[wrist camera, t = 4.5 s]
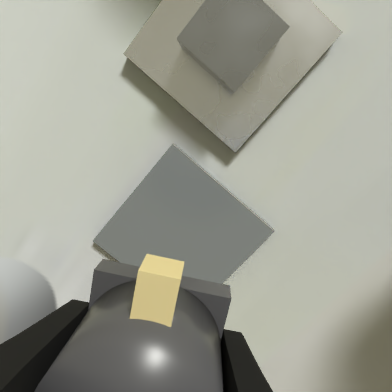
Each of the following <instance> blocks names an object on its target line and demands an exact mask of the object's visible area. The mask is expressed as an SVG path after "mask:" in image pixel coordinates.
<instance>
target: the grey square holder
mask: <svg viewBox="0 0 392 392" xmlns="http://www.w3.org/2000/svg"><path fill="white" fill-rule="evenodd" d="M342 33H343V32H342V31H341V30H340V29H339V28H338V27H337V26H336V25H335V24H334V23H333V22H332V21H331V20H330V19H329V18H328V17H327V16H326V15H325V14H324V13H323V12H322V11H321V10H320V9H319V8H318V7H317V6H316V5H315V4H314V3H313V2H312V1H311V0H162V1H161V2H160V4H159V5H158V6H157V8H156V9H155V11H154V12H153V13H152V15H151V16H150V18H149V19H148V20H147V22H146V23H145V25H144V26H143V27H142V29H141V30H140V32H139V33H138V34H137V36H136V37H135V38H134V40H133V41H132V43H131V44H130V45H129V47H128V48H127V50H126V51H125V52H124V55H125V56H126V57H127V58H128V59H130V60H131V61H132V62H133V63H134V64H135V65H136V66H138V67H139V68H140V69H141V70H142V71H143V72H144V73H145V74H147V75H148V76H149V77H150V78H151V79H152V80H153V81H155V82H156V83H157V84H158V85H159V86H160V87H161V88H163V89H164V90H165V91H166V92H167V93H168V94H169V95H170V96H172V97H173V98H174V99H175V100H176V101H177V102H178V103H180V104H181V105H182V106H183V107H184V108H185V109H186V110H187V111H189V112H190V113H191V114H192V115H193V116H194V117H195V118H197V119H198V120H199V121H200V122H201V123H202V124H203V125H205V126H206V127H207V128H208V129H209V130H210V131H211V132H212V133H214V134H215V135H216V136H217V137H218V138H219V139H220V140H222V141H223V142H224V143H225V144H226V145H227V146H228V147H229V148H231V149H232V150H233V151H234V152H235V153H236V151H237V150H238V149H239V148H240V147H241V146H242V145H243V144H244V142H245V141H246V140H247V139H248V138H249V137H250V136H251V135H252V134H253V132H254V131H255V130H256V129H257V128H258V127H259V126H260V125H261V123H262V122H263V121H264V120H265V119H266V118H267V117H268V116H269V114H270V113H271V112H272V111H273V110H274V109H275V108H276V107H277V105H278V104H279V103H280V102H281V101H282V100H283V99H284V98H285V96H286V95H287V94H288V93H289V92H290V91H291V90H292V89H293V88H294V86H295V85H296V84H297V83H298V82H299V81H300V80H301V79H302V77H303V76H304V75H305V74H306V73H307V72H308V71H309V70H310V68H311V67H312V66H313V65H314V64H315V63H316V62H317V61H318V59H319V58H320V57H321V56H322V55H323V54H324V53H325V52H326V50H327V49H328V48H329V47H330V46H331V45H332V44H333V43H334V42H335V40H336V39H337V38H338V37H339V36H340V35H341V34H342Z"/></svg>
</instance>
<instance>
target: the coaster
mask: <svg viewBox="0 0 392 392" xmlns="http://www.w3.org/2000/svg"><path fill="white" fill-rule="evenodd" d="M273 232H274V230H273V228H271V227H270V226H269V225H268V224H267V223H266V222H264V221H263V220H262V219H261V218H260V217H259V216H257V215H256V214H255V213H254V212H253V211H252V210H251V209H249V208H248V207H247V206H246V205H245V204H244V203H242V202H241V201H240V200H239V199H238V198H237V197H235V196H234V195H233V194H232V193H231V192H230V191H228V190H227V189H226V188H225V187H224V186H223V185H221V184H220V183H219V182H218V181H217V180H216V179H214V178H213V177H212V176H211V175H210V174H209V173H207V172H206V171H205V170H204V169H203V168H202V167H200V166H199V165H198V164H197V163H196V162H195V161H193V160H192V159H191V158H190V157H189V156H188V155H186V154H185V153H184V152H183V151H182V150H181V149H179V148H178V147H177V146H176V145H175V144H172V146H171V147H170V148H169V149H168V150H167V152H166V153H165V154H164V155H163V156H162V158H161V159H160V160H159V161H158V163H157V164H156V165H155V166H154V167H153V169H152V170H151V171H150V172H149V173H148V175H147V176H146V177H145V178H144V179H143V181H142V182H141V183H140V184H139V186H138V187H137V188H136V189H135V190H134V192H133V193H132V194H131V195H130V196H129V198H128V199H127V200H126V201H125V203H124V204H123V205H122V206H121V207H120V209H119V210H118V211H117V212H116V213H115V215H114V216H113V217H112V218H111V219H110V221H109V222H108V223H107V224H106V226H105V227H104V228H103V229H102V230H101V232H100V233H99V234H98V235H97V236H96V238H95V239H94V240H93V242H94V243H96V244H97V245H98V246H99V247H101V248H102V249H103V250H105V251H106V252H107V253H108V254H110V255H111V256H112V257H114V258H115V259H116V260H117V261H119V262H120V263H125V264H129V265H134V266H139V267H140V266H141V264H142V262H143V260H144V258H145V256H146V254H151V255H155V256H160V257H165V258H170V259H174V260H179V261H184V267H183V272H182V276H186V277H191V278H196V279H200V280H205V281H210V282H215V283H219V284H222V283H223V282H224V281H225V280H226V279H227V278H228V277H229V276H230V275H231V274H232V273H233V272H234V271H235V270H236V269H237V268H238V267H239V266H240V265H241V264H242V263H243V262H244V261H245V260H246V259H247V258H248V257H249V256H250V255H251V254H252V253H253V252H254V251H255V250H256V249H257V248H258V247H259V246H260V245H261V244H262V243H263V242H264V241H265V240H266V239H267V238H268V237H269V236H270V235H271V234H272V233H273Z"/></svg>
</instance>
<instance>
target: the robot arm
mask: <svg viewBox="0 0 392 392" xmlns="http://www.w3.org/2000/svg"><path fill="white" fill-rule="evenodd" d="M88 308H89V303H88V302H83V301H78V300H71V301H69V302H68V303H66V304H65V305H63V306H61V307H60V308H58V309H57V310H55V311H54V312H52V313H51V314H49V315H48V316H46V317H45V318H43V319H42V320H40V321H38V322H37V323H36V324H34V325H32V326H31V327H29V328H27V329H26V330H24V331H22V332H21V333H19V334H18V335H16V336H15V337H13V338H11V339H9V340H7V341H6V342H4V343H2V344H0V392H34V391H35V390H36V388H37V386H38V384H39V383H40V381H41V380H42V378H43V377H44V375H45V374H46V372H47V371H48V370H49V368H50V367H51V365H52V364H53V362H54V361H55V359H56V358H57V356H58V355H59V353H60V352H61V350H62V349H63V347H64V346H65V344H66V343H67V342H68V340H69V339H70V337H71V336H72V334H73V333H74V331H75V330H76V328H77V327H78V325H79V324H80V322H81V321H82V319H83V318H84V317H85V315H86V314H87V312H88ZM221 354H222V375H223V392H273V391H272V389H271V387H270V386H269V384H268V382H267V380H266V379H265V377H264V375H263V373H262V372H261V370H260V368H259V366H258V364H257V362H256V360H255V358H254V356H253V354H252V352H251V350H250V348H249V346H248V344H247V342H246V340H245V338H244V336H243V335H242V333H241V332H236V331H230V330H225V329H223V333H222V337H221Z"/></svg>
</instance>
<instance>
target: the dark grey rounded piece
mask: <svg viewBox="0 0 392 392" xmlns="http://www.w3.org/2000/svg"><path fill="white" fill-rule="evenodd" d="M183 267H184V261H179V260H174V259H170V258H165V257H160V256H155V255H151V254H146V256H145V258H144V260H143V262H142V264H141V266H140V267H139V266H134V265H129V264H125V263H120V262H115V261H110V260H106V259H103V260H102V261H101V262H100V263H99V264H98V266H97V267H96V268H95V269H94V274H93V281H92V288H91V294H90V301H89V308H88V312H87V314H86V315H85V317H84V318H83V319H82V321H81V322H80V324H79V325H78V327H77V328H76V330H75V331H74V333H73V334H72V336H71V337H70V339H69V340H68V342H67V343H66V344H65V346H64V347H63V349H62V350H61V352H60V353H59V355H58V356H57V358H56V359H55V361H54V362H53V364H52V365H51V367H50V368H49V370H48V371H47V372H46V374H45V375H44V377H43V378H42V380H41V381H40V383H39V384H38V386H37V388H36V390H35V391H34V392H223V375H222V354H221V337H222V333H223V329H224V325H225V321H226V317H227V313H228V309H229V305H230V302H231V293H230V286H229V285H224V284H219V283H215V282H210V281H205V280H200V279H196V278H191V277H186V276H182V272H183Z"/></svg>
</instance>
